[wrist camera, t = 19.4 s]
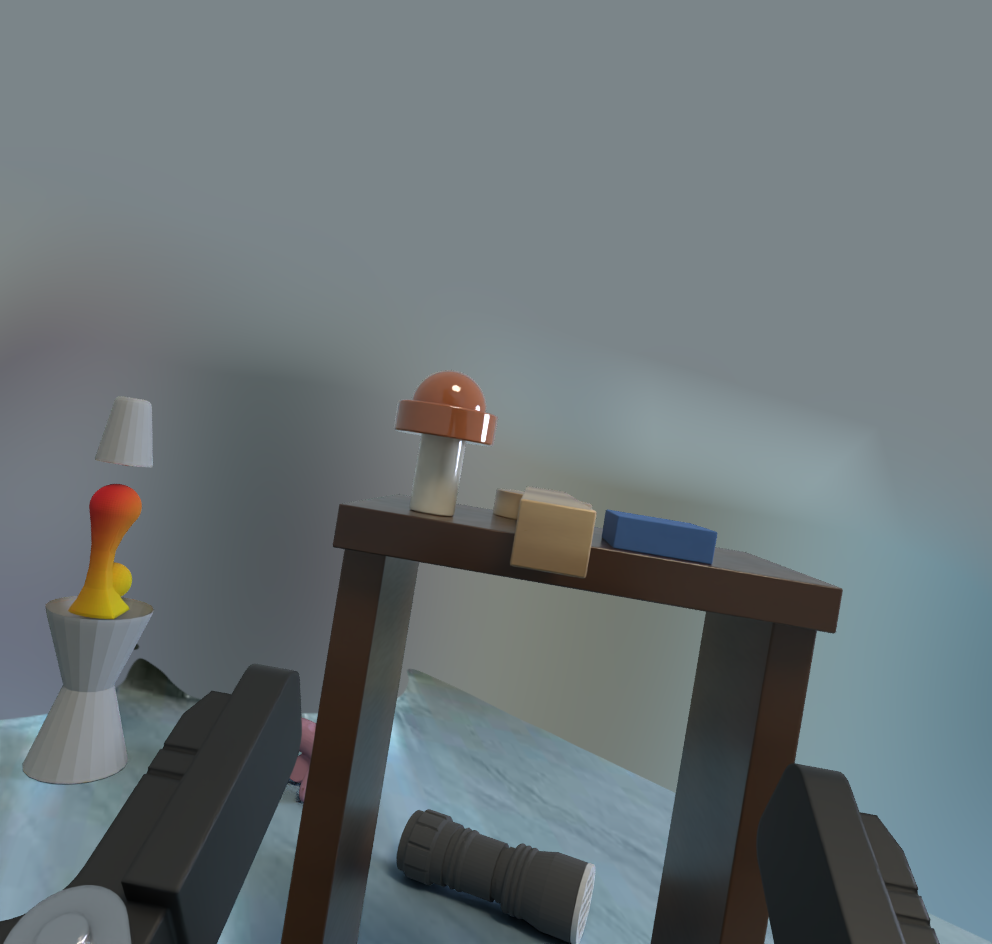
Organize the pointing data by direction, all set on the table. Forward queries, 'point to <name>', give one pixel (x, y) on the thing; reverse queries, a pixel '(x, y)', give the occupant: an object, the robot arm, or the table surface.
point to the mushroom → (443, 436)
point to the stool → (488, 547)
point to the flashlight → (499, 873)
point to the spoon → (548, 530)
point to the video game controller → (304, 756)
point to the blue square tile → (659, 537)
